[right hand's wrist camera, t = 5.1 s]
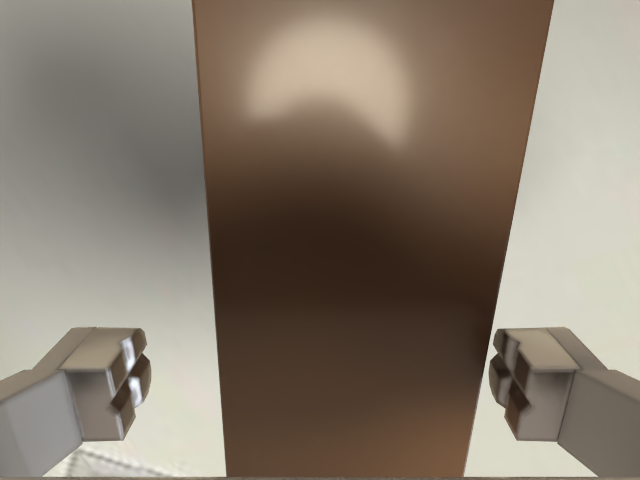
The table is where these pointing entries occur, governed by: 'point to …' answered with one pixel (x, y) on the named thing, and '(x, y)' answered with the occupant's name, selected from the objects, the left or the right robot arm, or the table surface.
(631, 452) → the right robot arm
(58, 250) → the table surface
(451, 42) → the box
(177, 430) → the table surface
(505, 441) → the table surface
